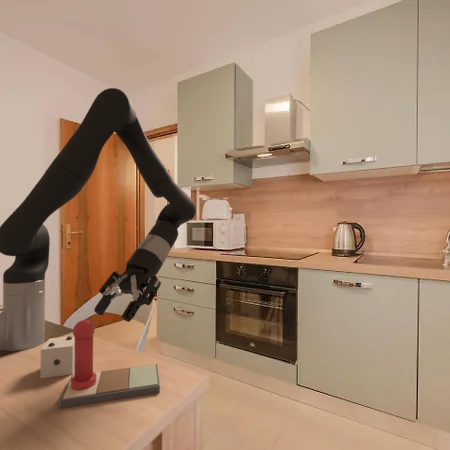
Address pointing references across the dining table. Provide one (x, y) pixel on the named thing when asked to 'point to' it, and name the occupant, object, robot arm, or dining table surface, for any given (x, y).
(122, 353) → the dining table surface
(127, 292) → the robot arm
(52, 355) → the die
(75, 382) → the pawn
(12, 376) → the dining table surface
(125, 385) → the board
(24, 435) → the dining table surface
